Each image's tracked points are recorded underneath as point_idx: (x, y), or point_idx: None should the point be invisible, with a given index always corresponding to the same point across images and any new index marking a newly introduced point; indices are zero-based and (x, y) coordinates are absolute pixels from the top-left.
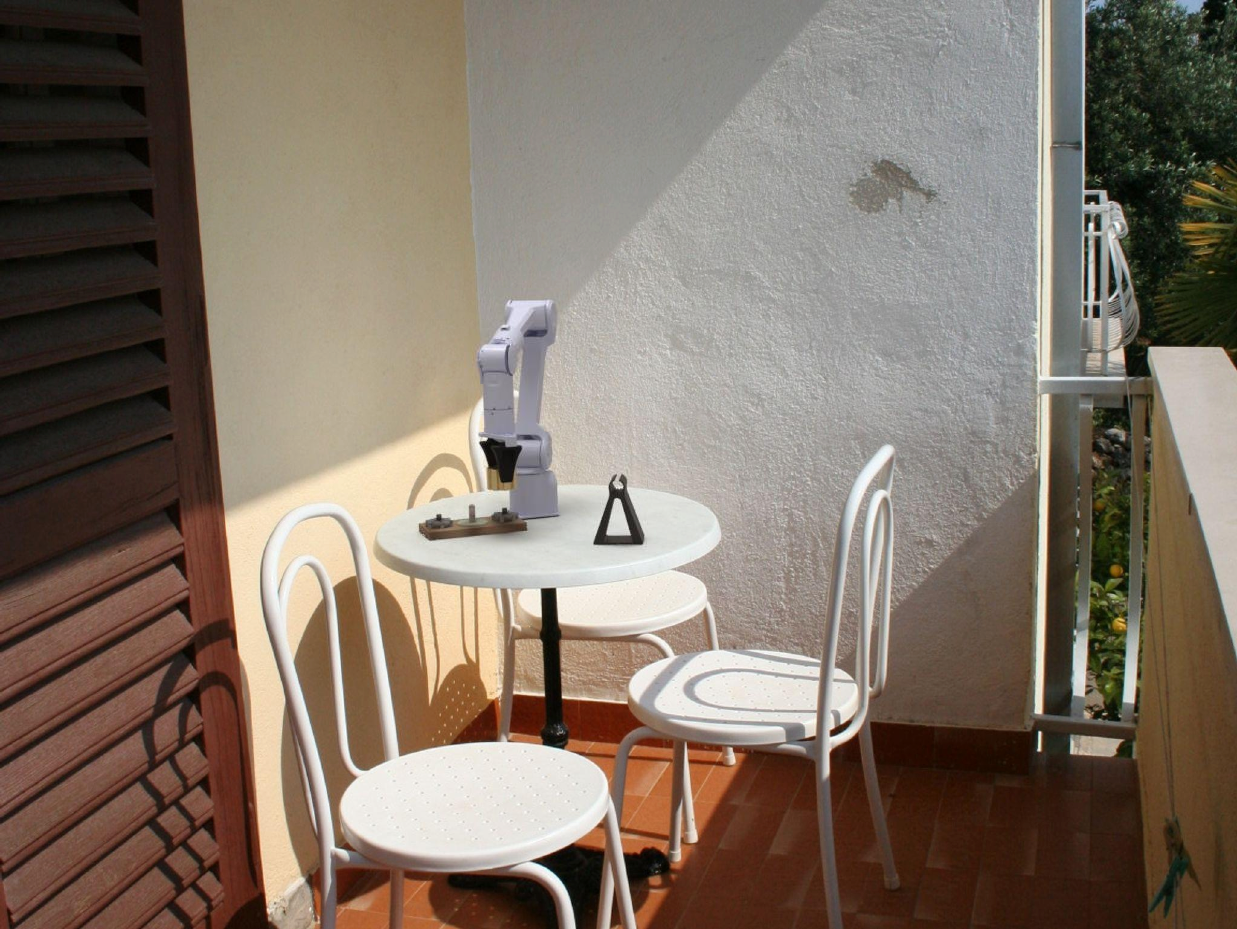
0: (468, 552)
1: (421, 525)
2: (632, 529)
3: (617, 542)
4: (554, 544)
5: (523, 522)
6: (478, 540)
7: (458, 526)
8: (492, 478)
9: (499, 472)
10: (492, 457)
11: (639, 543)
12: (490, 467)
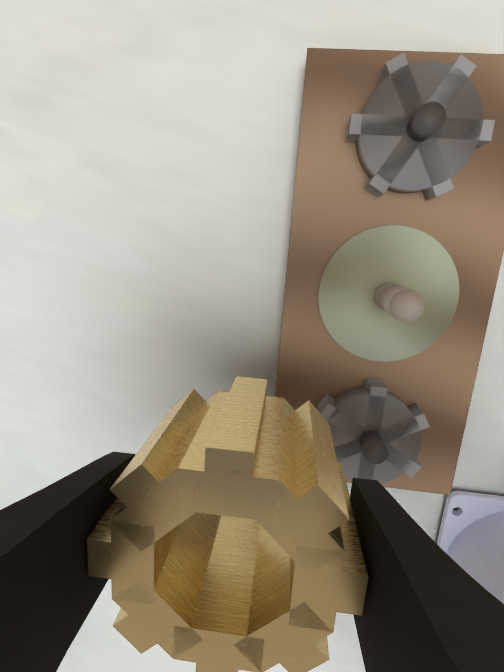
0: (38, 151)
1: (487, 55)
2: None
3: None
4: (35, 442)
5: None
6: (205, 252)
7: (354, 216)
8: (169, 424)
9: (61, 482)
10: (406, 646)
11: None
12: (274, 500)
